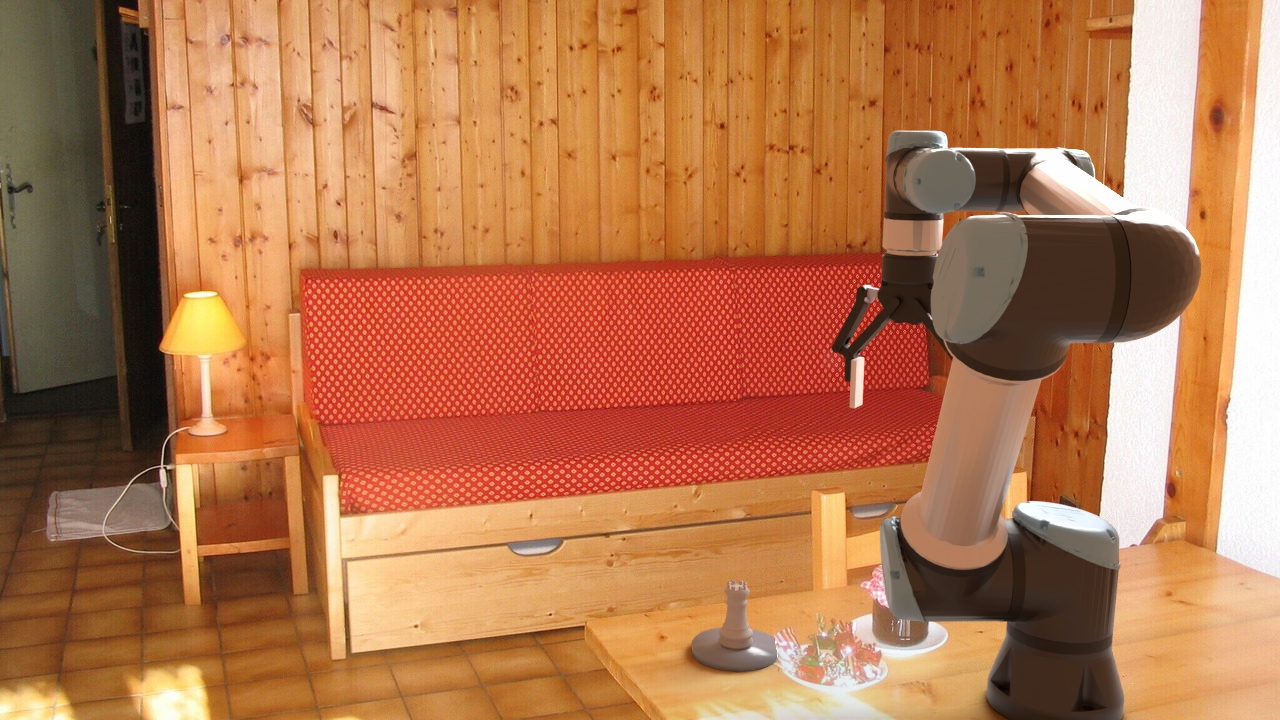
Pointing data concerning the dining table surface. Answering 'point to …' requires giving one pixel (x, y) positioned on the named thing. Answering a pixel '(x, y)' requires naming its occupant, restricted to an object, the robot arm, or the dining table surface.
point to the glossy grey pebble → (734, 652)
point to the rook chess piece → (736, 618)
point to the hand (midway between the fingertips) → (904, 412)
